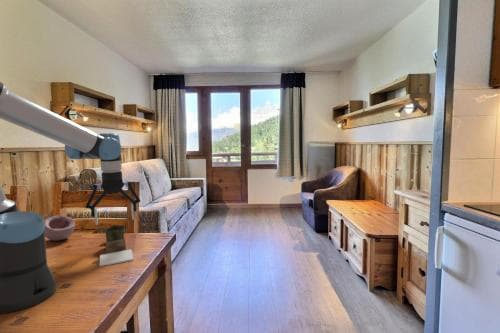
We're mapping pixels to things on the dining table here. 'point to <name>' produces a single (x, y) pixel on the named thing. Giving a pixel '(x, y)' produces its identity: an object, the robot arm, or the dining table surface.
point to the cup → (114, 233)
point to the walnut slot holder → (115, 245)
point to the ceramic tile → (116, 257)
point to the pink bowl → (58, 227)
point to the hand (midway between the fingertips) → (115, 221)
